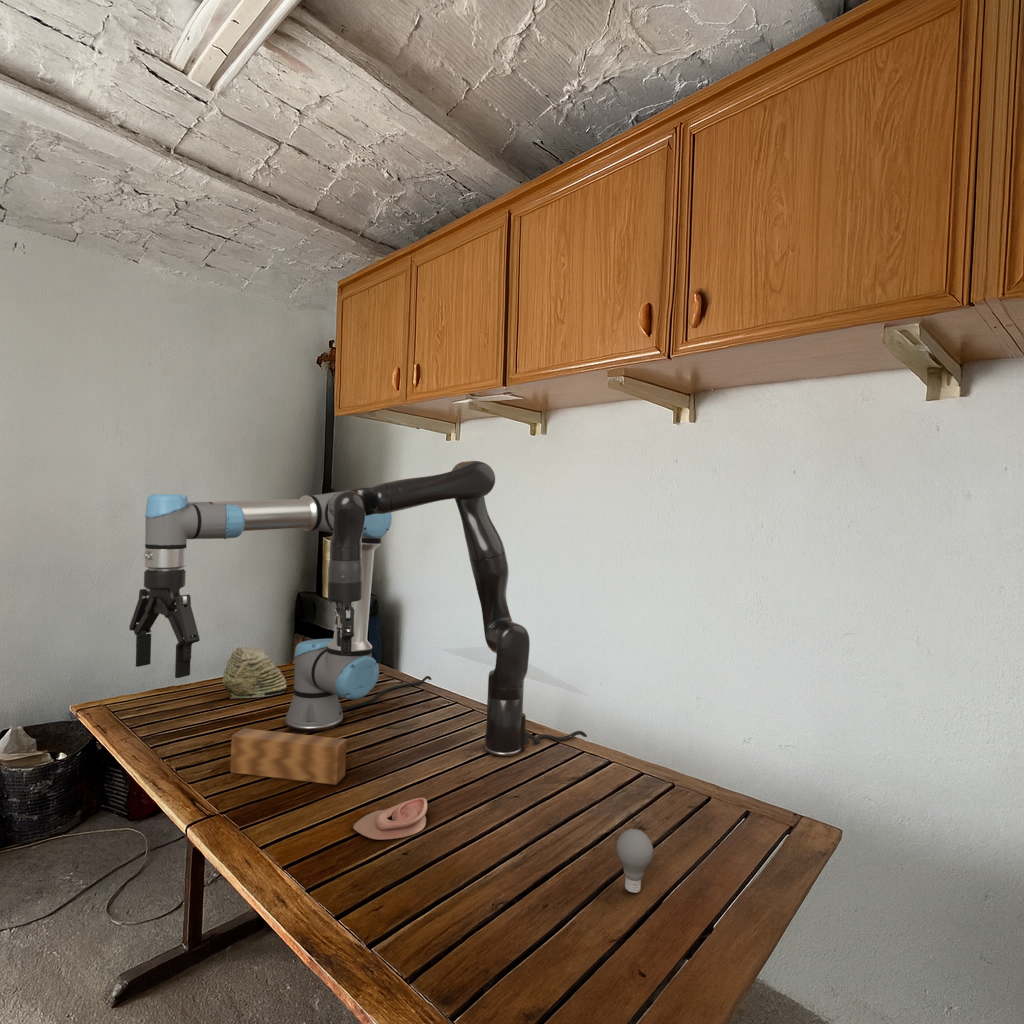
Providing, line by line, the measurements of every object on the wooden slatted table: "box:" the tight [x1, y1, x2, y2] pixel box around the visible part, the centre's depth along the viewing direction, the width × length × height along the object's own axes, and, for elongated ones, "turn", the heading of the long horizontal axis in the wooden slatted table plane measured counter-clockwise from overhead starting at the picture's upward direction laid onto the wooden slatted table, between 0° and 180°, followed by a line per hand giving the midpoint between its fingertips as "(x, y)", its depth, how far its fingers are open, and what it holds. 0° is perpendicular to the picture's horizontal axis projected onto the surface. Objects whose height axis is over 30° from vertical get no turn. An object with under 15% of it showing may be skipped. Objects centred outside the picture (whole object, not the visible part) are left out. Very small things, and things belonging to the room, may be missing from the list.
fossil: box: [222, 646, 288, 699], centre depth 198 cm, size 9×18×15 cm, turn 132°
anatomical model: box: [352, 797, 428, 841], centre depth 123 cm, size 13×4×12 cm
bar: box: [229, 727, 348, 786], centre depth 144 cm, size 25×5×8 cm, turn 81°
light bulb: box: [615, 828, 654, 894], centre depth 106 cm, size 6×6×10 cm
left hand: (162, 670), depth 131 cm, fingers open, 13 cm apart
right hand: (343, 650), depth 143 cm, fingers open, 8 cm apart
